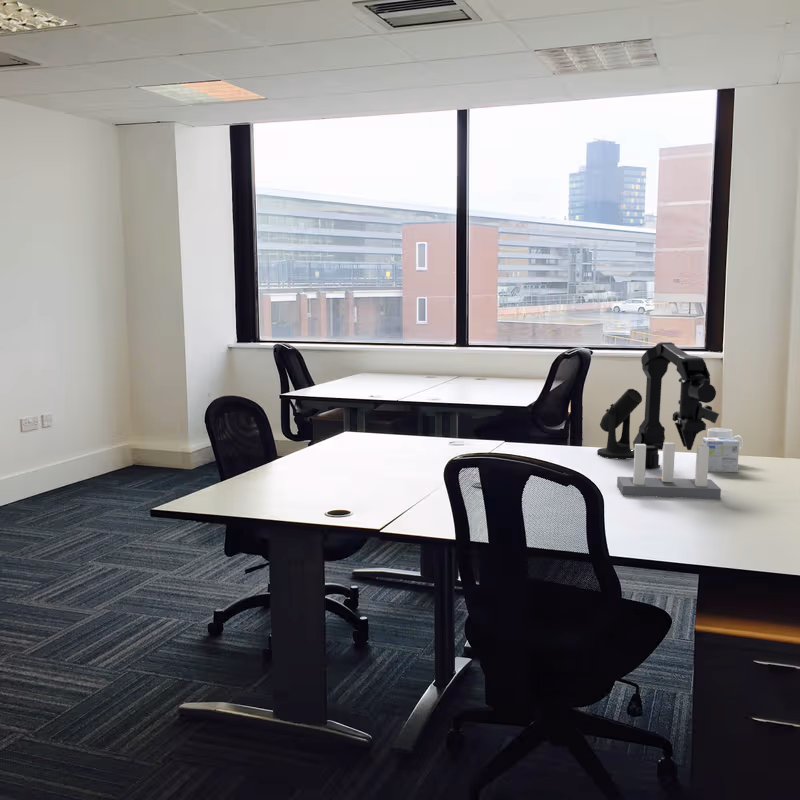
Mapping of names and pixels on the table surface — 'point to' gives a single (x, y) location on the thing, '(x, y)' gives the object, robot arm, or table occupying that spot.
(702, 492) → the three-peg stand
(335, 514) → the table surface
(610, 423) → the microphone
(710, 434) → the mug
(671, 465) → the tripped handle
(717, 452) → the light bulb box
